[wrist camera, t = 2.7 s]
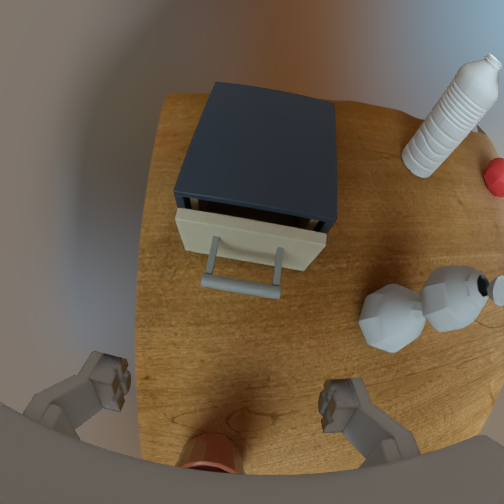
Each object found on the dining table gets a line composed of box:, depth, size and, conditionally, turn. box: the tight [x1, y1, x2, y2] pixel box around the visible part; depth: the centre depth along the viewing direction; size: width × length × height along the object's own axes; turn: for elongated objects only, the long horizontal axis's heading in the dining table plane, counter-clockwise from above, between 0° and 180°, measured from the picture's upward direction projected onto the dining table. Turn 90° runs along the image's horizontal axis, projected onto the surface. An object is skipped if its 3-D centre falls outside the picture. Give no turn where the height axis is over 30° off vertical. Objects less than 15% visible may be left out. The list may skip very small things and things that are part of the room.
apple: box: [484, 158, 504, 197], centre depth 39 cm, size 8×8×8 cm
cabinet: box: [174, 82, 337, 234], centre depth 32 cm, size 17×15×10 cm
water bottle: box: [402, 54, 502, 178], centre depth 29 cm, size 9×6×25 cm
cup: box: [175, 433, 245, 474], centre depth 20 cm, size 6×6×9 cm
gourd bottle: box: [358, 266, 504, 353], centre depth 22 cm, size 8×8×20 cm
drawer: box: [175, 198, 327, 299], centre depth 30 cm, size 20×13×8 cm, turn 171°
